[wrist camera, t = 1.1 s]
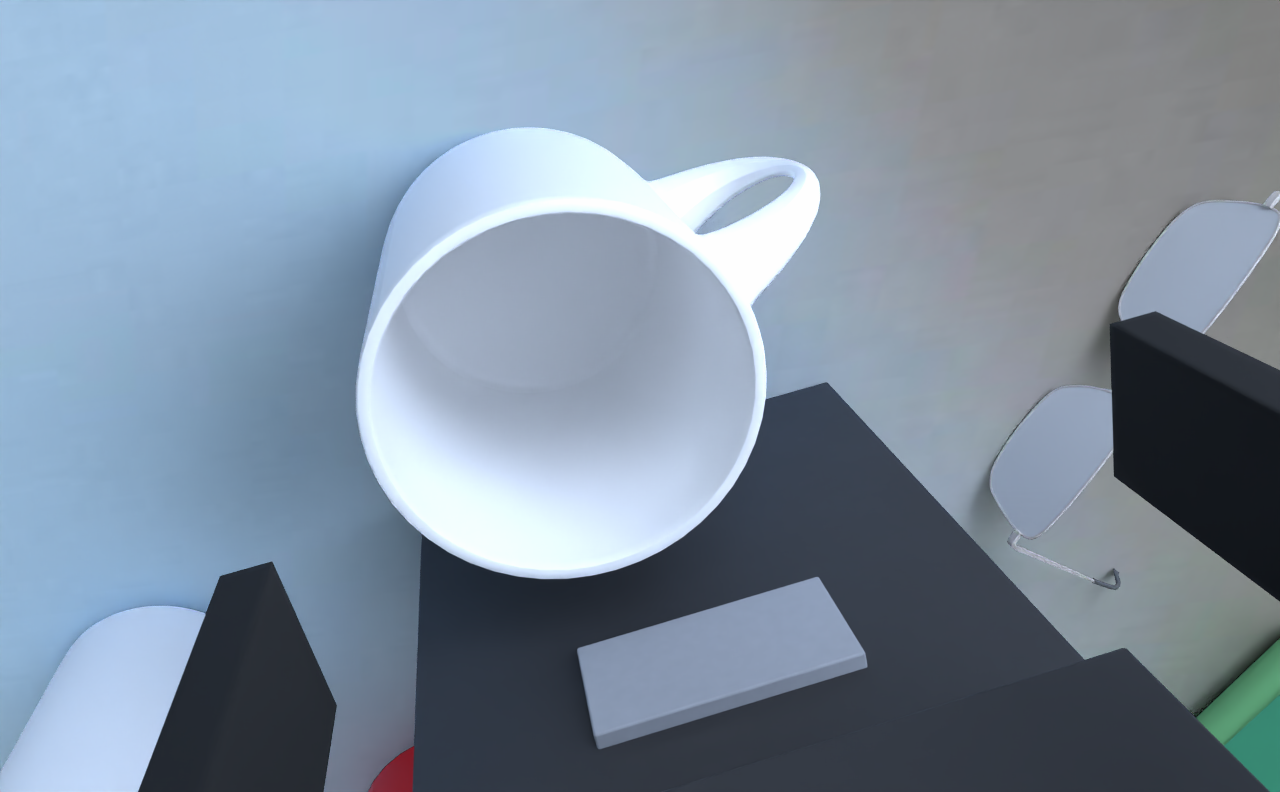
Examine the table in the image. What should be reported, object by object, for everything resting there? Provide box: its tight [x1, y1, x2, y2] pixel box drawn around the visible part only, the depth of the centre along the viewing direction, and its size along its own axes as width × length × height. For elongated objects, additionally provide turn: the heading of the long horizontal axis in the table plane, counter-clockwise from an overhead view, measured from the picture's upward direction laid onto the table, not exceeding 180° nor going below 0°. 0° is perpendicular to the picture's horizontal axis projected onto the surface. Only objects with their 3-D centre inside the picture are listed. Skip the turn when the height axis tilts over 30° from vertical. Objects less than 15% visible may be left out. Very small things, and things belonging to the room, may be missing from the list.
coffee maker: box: [412, 383, 1270, 792], centre depth 24 cm, size 8×14×22 cm, turn 103°
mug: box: [356, 127, 820, 579], centre depth 26 cm, size 9×12×11 cm
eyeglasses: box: [990, 191, 1280, 590], centre depth 35 cm, size 14×8×4 cm, turn 149°
